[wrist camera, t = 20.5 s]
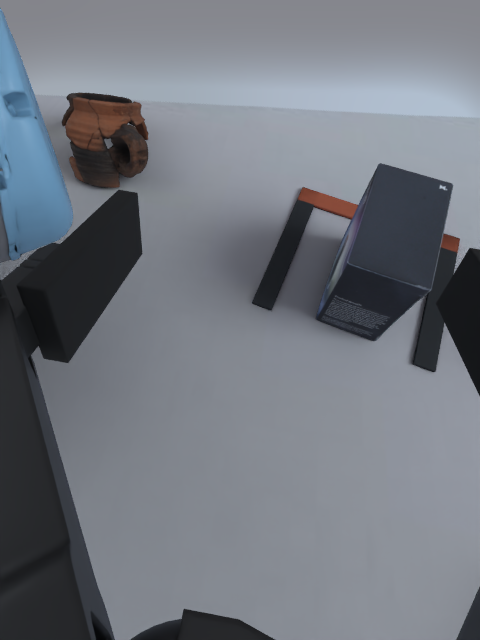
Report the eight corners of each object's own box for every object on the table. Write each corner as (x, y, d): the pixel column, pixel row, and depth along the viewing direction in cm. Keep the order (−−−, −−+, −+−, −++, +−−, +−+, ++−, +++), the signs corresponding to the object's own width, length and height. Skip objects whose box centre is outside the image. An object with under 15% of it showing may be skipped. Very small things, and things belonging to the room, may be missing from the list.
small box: (339, 236, 38) (377, 157, 28) (398, 256, 37) (458, 181, 28) (311, 319, 34) (344, 259, 24) (376, 343, 33) (437, 291, 24)
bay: (252, 303, 35) (252, 302, 34) (302, 188, 41) (302, 186, 40) (433, 372, 32) (435, 371, 32) (458, 240, 38) (460, 238, 38)
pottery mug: (53, 172, 41) (39, 88, 36) (122, 164, 47) (118, 92, 42) (115, 204, 36) (108, 110, 31) (184, 191, 42) (187, 111, 37)
